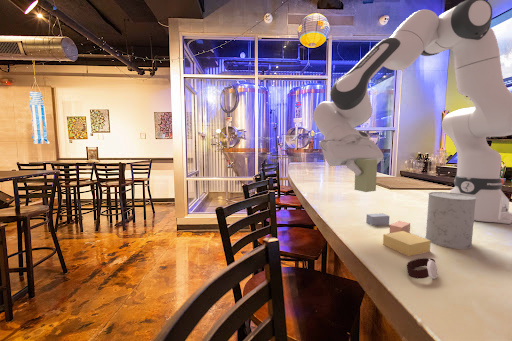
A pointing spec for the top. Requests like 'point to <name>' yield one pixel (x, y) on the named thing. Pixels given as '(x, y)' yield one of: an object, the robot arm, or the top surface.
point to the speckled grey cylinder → (450, 219)
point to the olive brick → (366, 175)
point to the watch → (424, 273)
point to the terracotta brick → (400, 227)
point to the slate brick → (377, 219)
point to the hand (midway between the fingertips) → (367, 173)
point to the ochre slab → (406, 243)
